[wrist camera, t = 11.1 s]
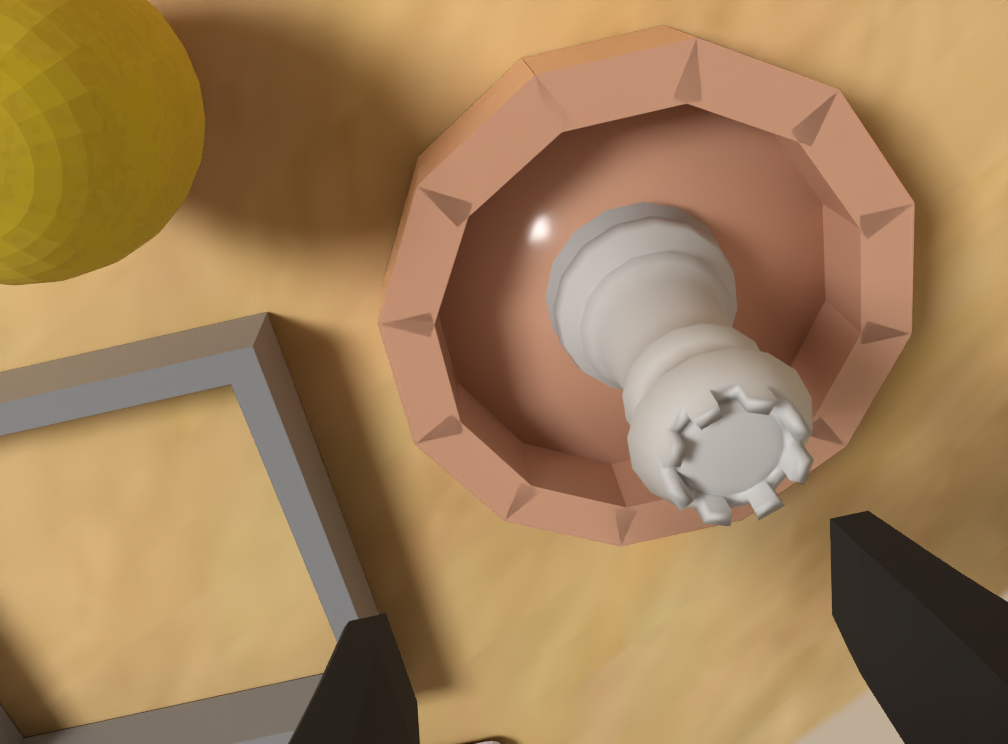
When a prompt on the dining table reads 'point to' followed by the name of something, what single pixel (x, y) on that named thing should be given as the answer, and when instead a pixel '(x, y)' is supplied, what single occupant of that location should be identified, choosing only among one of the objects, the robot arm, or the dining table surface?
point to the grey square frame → (291, 468)
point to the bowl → (616, 183)
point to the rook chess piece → (680, 361)
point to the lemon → (90, 134)
